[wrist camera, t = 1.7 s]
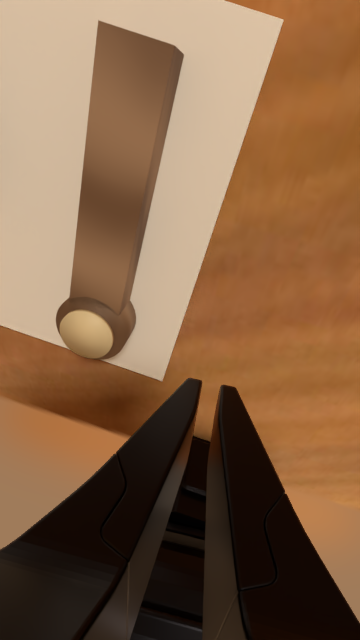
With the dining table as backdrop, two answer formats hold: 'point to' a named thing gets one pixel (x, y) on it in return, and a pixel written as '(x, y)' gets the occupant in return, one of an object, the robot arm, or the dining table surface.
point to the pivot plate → (68, 156)
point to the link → (120, 172)
